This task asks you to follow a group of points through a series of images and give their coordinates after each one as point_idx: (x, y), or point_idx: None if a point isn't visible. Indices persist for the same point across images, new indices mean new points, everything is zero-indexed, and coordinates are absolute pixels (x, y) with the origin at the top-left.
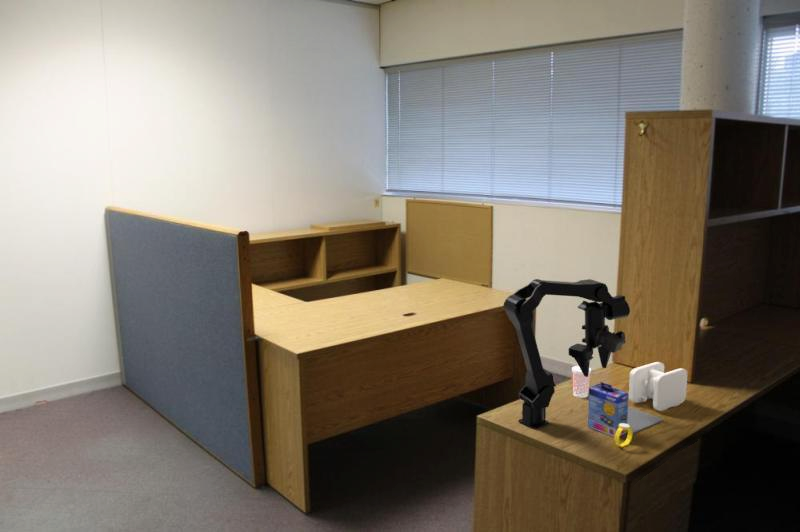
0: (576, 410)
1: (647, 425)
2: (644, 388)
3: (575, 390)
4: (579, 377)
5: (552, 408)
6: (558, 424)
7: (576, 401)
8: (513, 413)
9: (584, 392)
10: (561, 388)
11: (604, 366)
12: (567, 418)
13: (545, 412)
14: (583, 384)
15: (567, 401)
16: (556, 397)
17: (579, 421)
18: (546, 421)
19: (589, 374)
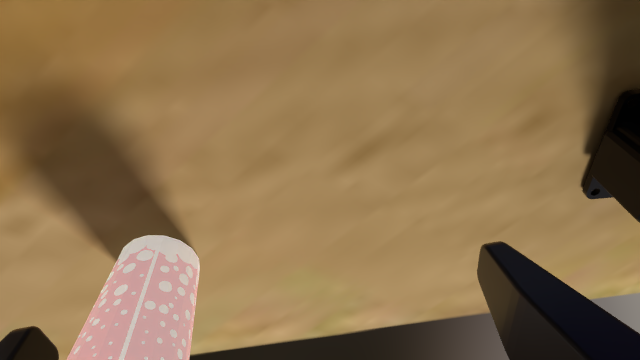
0: (337, 141)
1: None
2: None
3: (195, 288)
4: (172, 351)
5: (418, 216)
6: (594, 55)
7: (241, 221)
8: (596, 253)
9: (158, 257)
10: (195, 337)
11: (31, 358)
12: (476, 88)
13: (637, 152)
14: (157, 299)
15: (283, 239)
16: (293, 288)
17: (465, 13)
18: (630, 107)
19: (84, 355)
